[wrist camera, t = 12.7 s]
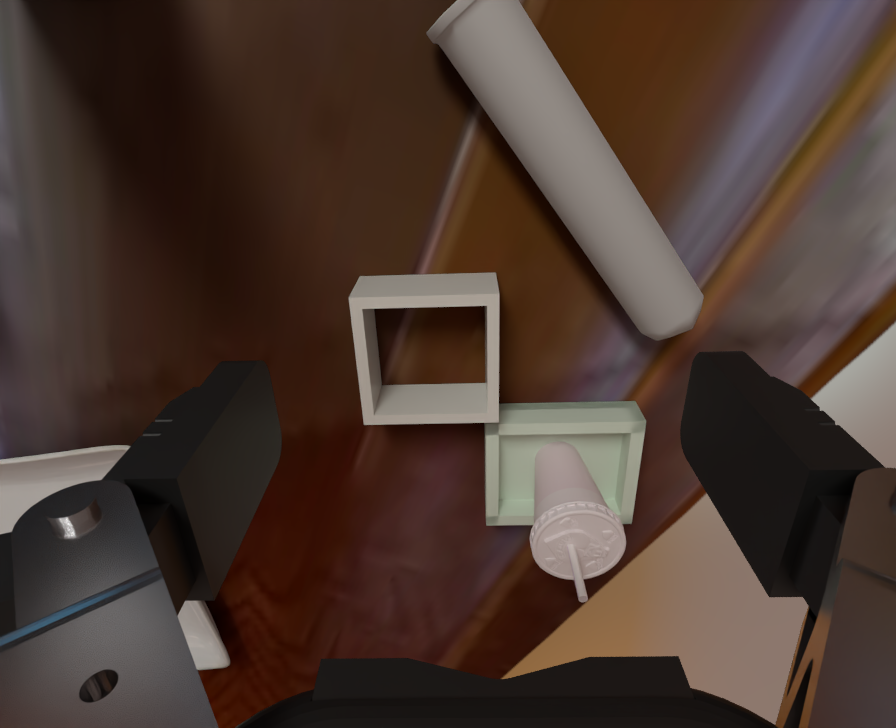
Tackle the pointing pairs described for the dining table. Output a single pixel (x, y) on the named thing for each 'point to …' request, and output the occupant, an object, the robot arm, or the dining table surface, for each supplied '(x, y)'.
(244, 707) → the dining table surface
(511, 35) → the tube
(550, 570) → the smoothie
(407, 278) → the hollow square frame
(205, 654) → the square plate
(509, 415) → the tray
